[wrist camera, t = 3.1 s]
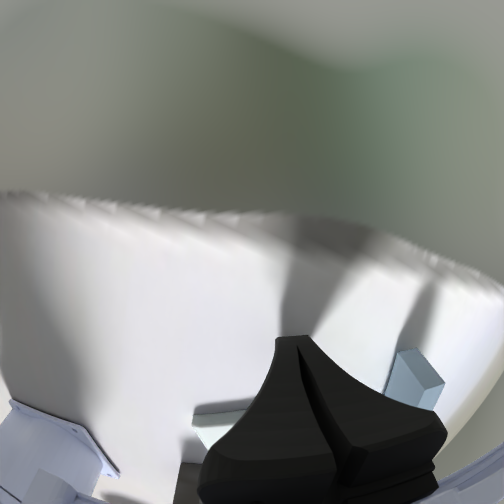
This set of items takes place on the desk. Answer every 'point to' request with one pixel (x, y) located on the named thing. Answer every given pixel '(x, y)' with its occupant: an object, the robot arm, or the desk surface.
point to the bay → (187, 484)
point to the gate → (414, 380)
